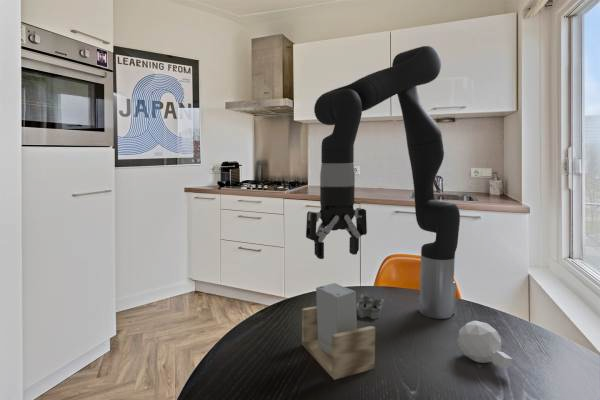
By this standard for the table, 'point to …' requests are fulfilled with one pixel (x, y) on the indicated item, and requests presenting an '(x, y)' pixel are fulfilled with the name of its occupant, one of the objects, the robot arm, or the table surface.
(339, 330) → the skincare box
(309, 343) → the holder
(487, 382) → the table surface
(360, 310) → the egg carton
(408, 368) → the table surface
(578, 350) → the table surface
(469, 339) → the perfume bottle
